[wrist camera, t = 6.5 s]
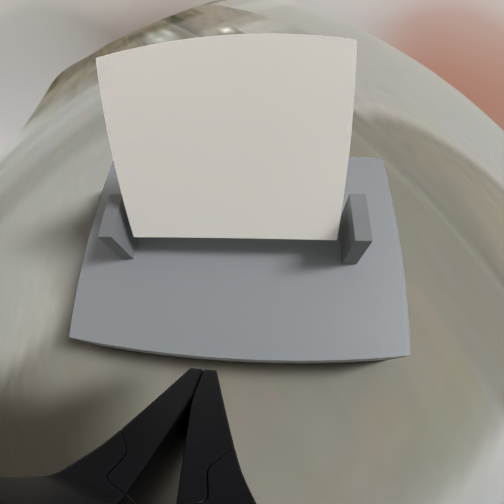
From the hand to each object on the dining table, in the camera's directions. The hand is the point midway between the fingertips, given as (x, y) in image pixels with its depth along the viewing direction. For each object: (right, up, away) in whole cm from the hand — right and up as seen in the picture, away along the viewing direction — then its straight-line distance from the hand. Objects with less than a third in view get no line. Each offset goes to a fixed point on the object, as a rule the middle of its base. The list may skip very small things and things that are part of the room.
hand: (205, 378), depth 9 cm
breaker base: (+1, +3, +10) cm, 10 cm away
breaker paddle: (+1, +5, +6) cm, 8 cm away
